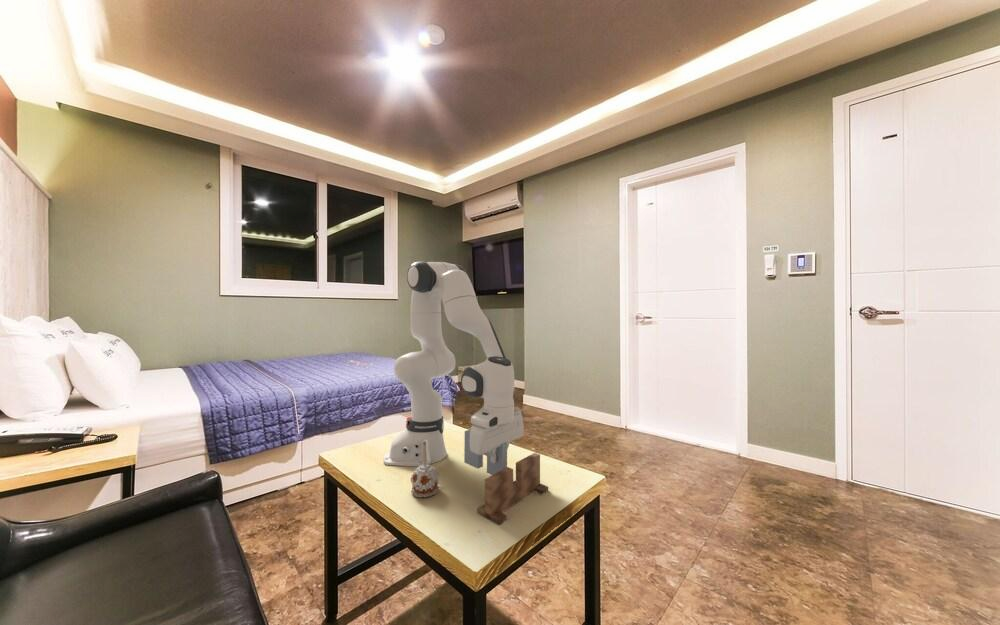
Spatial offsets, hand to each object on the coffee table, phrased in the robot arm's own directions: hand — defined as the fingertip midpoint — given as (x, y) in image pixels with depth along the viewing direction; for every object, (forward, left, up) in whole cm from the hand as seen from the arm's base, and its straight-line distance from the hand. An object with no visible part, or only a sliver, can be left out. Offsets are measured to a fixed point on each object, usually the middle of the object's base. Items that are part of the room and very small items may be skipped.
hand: (498, 459), depth 104 cm
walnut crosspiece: (+4, -4, -10) cm, 12 cm away
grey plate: (-4, +4, -5) cm, 7 cm away
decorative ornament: (-22, +3, -10) cm, 24 cm away
